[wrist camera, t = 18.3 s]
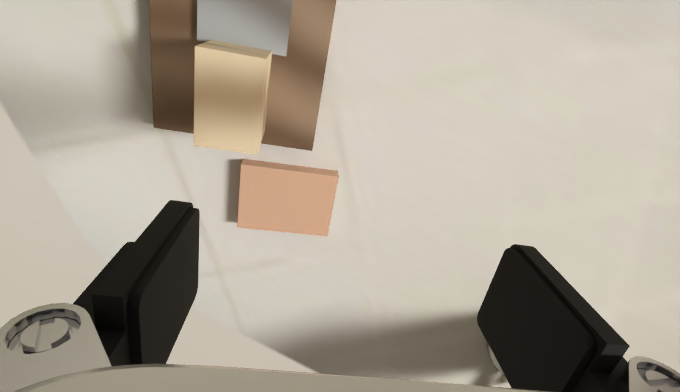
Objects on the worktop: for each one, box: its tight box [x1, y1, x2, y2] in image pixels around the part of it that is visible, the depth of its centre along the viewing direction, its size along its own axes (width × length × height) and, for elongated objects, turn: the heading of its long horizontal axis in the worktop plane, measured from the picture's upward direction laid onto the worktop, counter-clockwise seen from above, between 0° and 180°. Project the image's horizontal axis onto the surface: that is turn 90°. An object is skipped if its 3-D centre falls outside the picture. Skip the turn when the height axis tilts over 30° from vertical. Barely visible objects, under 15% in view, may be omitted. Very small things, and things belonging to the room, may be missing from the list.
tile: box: [237, 159, 339, 236], centre depth 32 cm, size 6×2×8 cm
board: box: [149, 0, 336, 151], centre depth 26 cm, size 14×12×1 cm
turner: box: [194, 0, 293, 154], centre depth 23 cm, size 13×6×5 cm, turn 169°
